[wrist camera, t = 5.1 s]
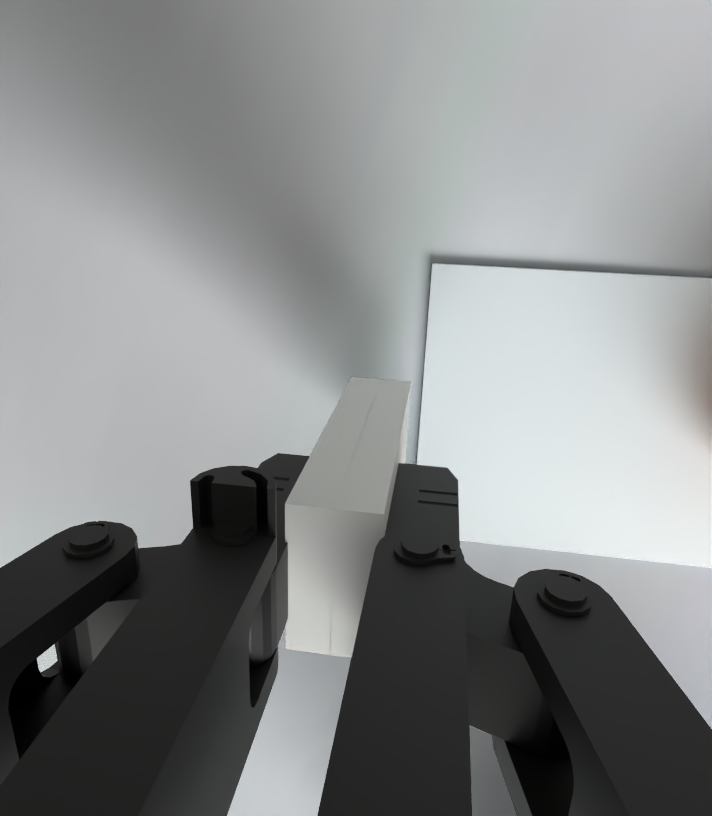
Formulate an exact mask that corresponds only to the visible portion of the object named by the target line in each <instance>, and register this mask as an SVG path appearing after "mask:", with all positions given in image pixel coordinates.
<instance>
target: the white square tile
mask: <svg viewBox="0 0 712 816" xmlns="http://www.w3.org/2000/svg"><path fill="white" fill-rule="evenodd" d="M417 465H425V466H436V467H446V468H448V469H449V470H450V471H451V472H452V474H453V475H454V476H455V477H456V478H457V479H458V497H459V539H460V541H469V542H478V543H487V544H497V545H506V546H515V547H524V548H533V549H542V550H551V551H560V552H570V553H579V554H588V555H597V556H606V557H615V558H624V559H634V560H643V561H652V562H661V563H670V564H679V565H688V566H698V567H707V568H712V278H703V277H685V276H666V275H648V274H629V273H610V272H592V271H573V270H555V269H536V268H518V267H499V266H480V265H462V264H443V263H432V274H431V287H430V300H429V313H428V326H427V338H426V351H425V364H424V377H423V390H422V403H421V416H420V429H419V441H418V454H417Z"/></svg>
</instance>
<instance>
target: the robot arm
mask: <svg viewBox="0 0 712 816" xmlns="http://www.w3.org/2000/svg"><path fill="white" fill-rule="evenodd" d="M410 391H411V382H410V381H397V380H384V379H371V378H359V377H351V379H350V381H349V382H348V384H347V386H346V388H345V390H344V392H343V394H342V396H341V398H340V400H339V402H338V403H337V405H336V407H335V409H334V411H333V413H332V415H331V417H330V419H329V421H328V422H327V424H326V426H325V428H324V430H323V432H322V434H321V436H320V438H319V440H318V442H317V443H316V445H315V447H314V449H313V451H312V453H311V455H310V456H301V455H290V454H280V453H278V454H276V455H274V456H273V457H271V458H269V459H267V460H265V461H264V462H262V463H261V464H260V466H259V467H258V468H253V467H248V466H226V467H220V468H214V469H211V470H208V471H206V472H203V473H200V474H199V475H197V476H196V477H194V478H193V479H192V480H190V485H191V500H192V516H193V529H192V530H191V532H190V533H189V534H188V536H187V537H186V538H185V540H184V541H183V542H182V544H179V545H172V546H164V547H151V548H139V549H138V543H137V536H136V534H135V533H134V531H133V529H132V528H130V527H128V526H126V525H124V524H121V523H115V522H107V521H98V522H96V521H94V522H87V523H84V524H81V525H78V526H74V527H70V528H68V529H66V530H64V531H62V532H60V533H57V534H55V535H54V536H52V537H50V538H49V539H47V540H46V541H44V542H42V543H41V544H39V545H37V546H36V547H34V548H32V549H31V550H29V551H28V552H26V553H24V554H23V555H21V556H19V557H18V558H16V559H14V560H13V561H11V562H9V563H8V564H6V565H5V566H3V567H1V568H0V816H227V813H228V811H229V808H230V805H231V802H232V799H233V796H234V794H235V791H236V788H237V785H238V782H239V779H240V777H241V774H242V771H243V768H244V765H245V763H246V760H247V757H248V754H249V751H250V748H251V746H252V743H253V740H254V737H255V734H256V731H257V729H258V726H259V723H260V720H261V717H262V714H263V712H264V709H265V706H266V703H267V700H268V698H269V695H270V692H271V689H272V686H273V683H274V681H275V678H276V675H277V670H278V643H279V641H280V638H281V635H282V633H283V630H284V627H285V625H286V649H289V650H297V651H304V652H311V653H319V654H326V655H333V656H341V657H348V658H351V663H350V667H349V672H348V677H347V681H346V686H345V690H344V695H343V700H342V704H341V709H340V714H339V718H338V723H337V728H336V732H335V737H334V742H333V746H332V751H331V756H330V760H329V765H328V769H327V774H326V779H325V783H324V788H323V793H322V797H321V802H320V807H319V811H318V816H472V803H471V769H470V736H469V725H471V726H473V727H476V728H478V729H480V730H483V731H485V732H487V733H489V734H492V738H493V746H494V750H495V753H496V756H497V759H498V762H499V765H500V768H501V770H502V773H503V776H504V779H505V782H506V785H507V788H508V791H509V793H510V796H511V799H512V802H513V805H514V808H515V811H516V814H517V816H712V729H711V728H710V727H709V725H708V724H707V723H706V721H705V720H704V719H703V717H702V716H701V715H700V713H699V712H698V711H697V709H696V708H695V707H694V705H693V704H692V703H691V701H690V700H689V699H688V698H687V696H686V695H685V694H684V692H683V691H682V690H681V688H680V687H679V686H678V684H677V683H676V682H675V680H674V679H673V678H672V676H671V675H670V674H669V672H668V671H667V670H666V668H665V667H664V666H663V664H662V663H661V662H660V661H659V659H658V658H657V657H656V655H655V654H654V653H653V651H652V650H651V649H650V647H649V646H648V645H647V643H646V642H645V641H644V639H643V638H642V637H641V635H640V634H639V633H638V631H637V630H636V629H635V628H634V626H633V625H632V624H631V622H630V621H629V620H628V618H627V617H626V616H625V614H624V613H623V612H622V610H621V609H620V608H619V606H618V605H617V604H616V602H615V601H614V600H613V598H612V597H611V596H610V595H609V594H608V593H607V592H606V591H604V590H603V589H602V588H601V587H600V586H599V585H597V584H596V583H594V582H592V581H590V580H588V579H586V578H585V577H583V576H580V575H577V574H574V573H570V572H567V571H562V570H550V569H543V570H537V571H530V572H528V573H526V574H525V575H523V576H521V577H520V578H518V580H517V582H516V584H515V586H514V587H511V586H507V585H504V584H501V583H498V582H496V581H493V580H491V579H488V578H486V577H484V576H483V575H481V574H479V573H478V572H476V571H474V570H473V569H472V568H471V567H470V566H469V565H468V564H467V563H466V562H465V560H464V556H463V554H462V551H461V548H460V539H459V497H458V479H457V478H456V477H455V476H454V475H453V474H452V472H451V471H450V470H449V469H448V468H446V467H436V466H425V465H415V464H405V462H406V448H407V433H408V419H409V405H410ZM53 644H55V648H56V653H57V659H58V661H57V662H56V663H55V664H53V665H52V666H51V667H50V668H48V669H46V670H45V671H43V672H41V673H40V671H39V669H38V664H37V657H38V656H40V655H41V654H42V653H43V652H45V651H46V650H47V649H48V648H50V647H51V646H52V645H53Z"/></svg>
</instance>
